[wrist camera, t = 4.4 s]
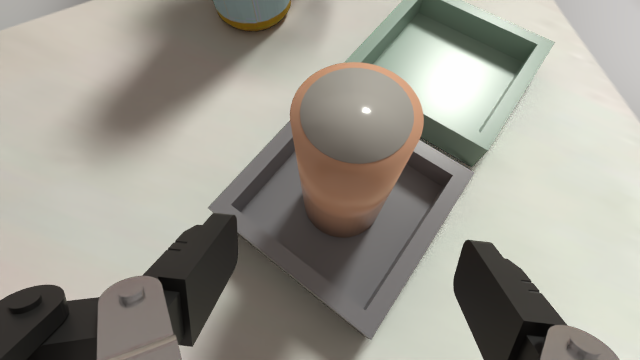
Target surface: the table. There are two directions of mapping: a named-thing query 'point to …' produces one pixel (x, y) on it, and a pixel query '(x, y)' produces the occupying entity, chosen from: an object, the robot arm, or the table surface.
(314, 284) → the tray
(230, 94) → the table surface
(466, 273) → the robot arm
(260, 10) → the bottle
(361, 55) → the tray
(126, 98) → the table surface
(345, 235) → the orange cylinder
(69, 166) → the table surface
